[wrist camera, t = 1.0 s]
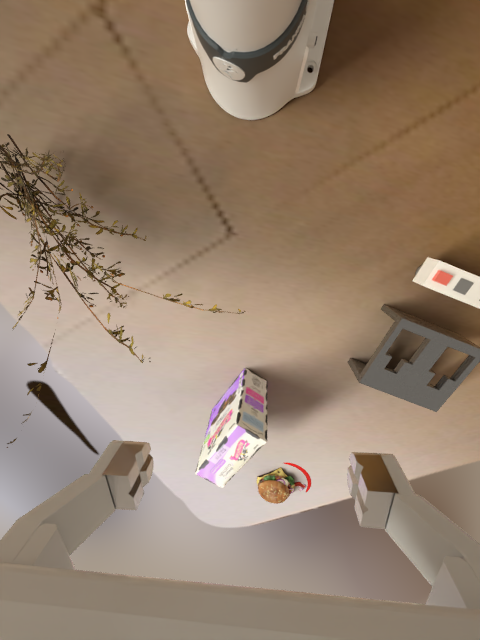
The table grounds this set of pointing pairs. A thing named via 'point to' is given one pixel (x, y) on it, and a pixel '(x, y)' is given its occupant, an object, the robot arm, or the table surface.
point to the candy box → (234, 429)
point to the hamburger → (279, 485)
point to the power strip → (449, 281)
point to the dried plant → (52, 225)
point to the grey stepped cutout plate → (416, 363)
